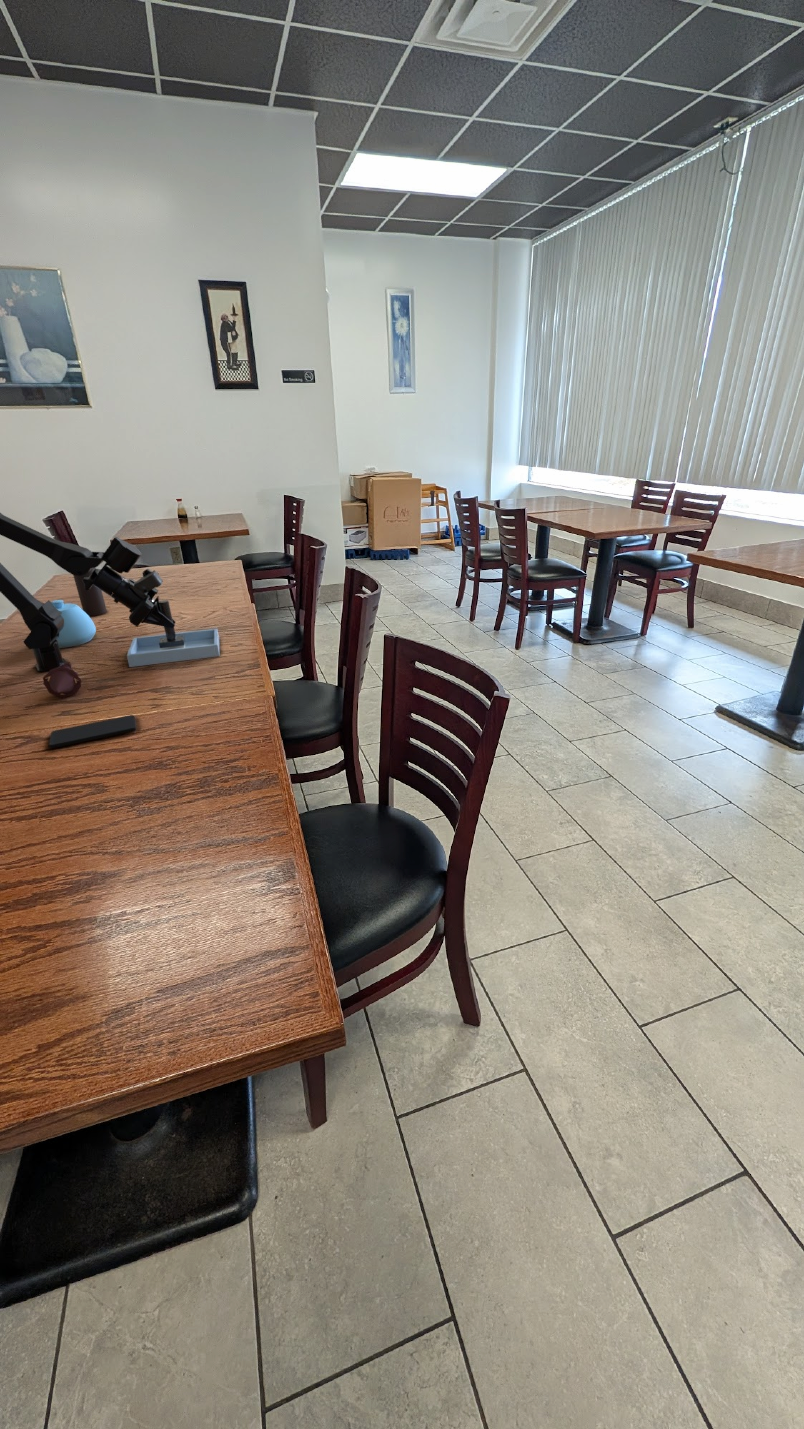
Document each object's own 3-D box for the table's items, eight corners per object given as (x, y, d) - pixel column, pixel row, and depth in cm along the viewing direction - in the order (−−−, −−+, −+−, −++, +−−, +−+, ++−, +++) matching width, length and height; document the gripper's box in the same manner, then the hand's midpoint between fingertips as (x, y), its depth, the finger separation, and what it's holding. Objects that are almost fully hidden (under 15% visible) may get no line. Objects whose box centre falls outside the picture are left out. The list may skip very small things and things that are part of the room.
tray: (129, 667, 145) (126, 655, 144) (136, 648, 158) (133, 637, 156) (219, 656, 150) (217, 644, 149) (219, 639, 163) (217, 628, 161)
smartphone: (50, 731, 112) (134, 714, 118) (51, 734, 113) (135, 718, 118) (47, 746, 107) (136, 727, 112) (49, 750, 107) (137, 731, 113)
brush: (161, 654, 151) (149, 604, 145) (162, 648, 155) (151, 600, 149) (185, 651, 152) (175, 602, 146) (186, 645, 156) (176, 597, 150)
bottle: (79, 616, 189) (61, 553, 180) (93, 610, 195) (76, 549, 186) (98, 616, 188) (81, 553, 179) (111, 610, 194) (95, 549, 185)
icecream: (77, 677, 123) (86, 659, 136) (36, 673, 120) (50, 656, 133) (76, 708, 124) (86, 688, 138) (36, 706, 122) (49, 686, 135)
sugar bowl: (108, 637, 168) (98, 597, 163) (57, 653, 156) (44, 611, 151) (78, 630, 175) (68, 591, 170) (28, 644, 164) (14, 604, 159)
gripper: (132, 569, 134) (191, 610, 142) (141, 554, 150) (194, 592, 158) (104, 606, 136) (164, 645, 143) (115, 588, 152) (169, 624, 159)
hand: (174, 625), depth 151 cm, fingers closed on brush, 2 cm apart
